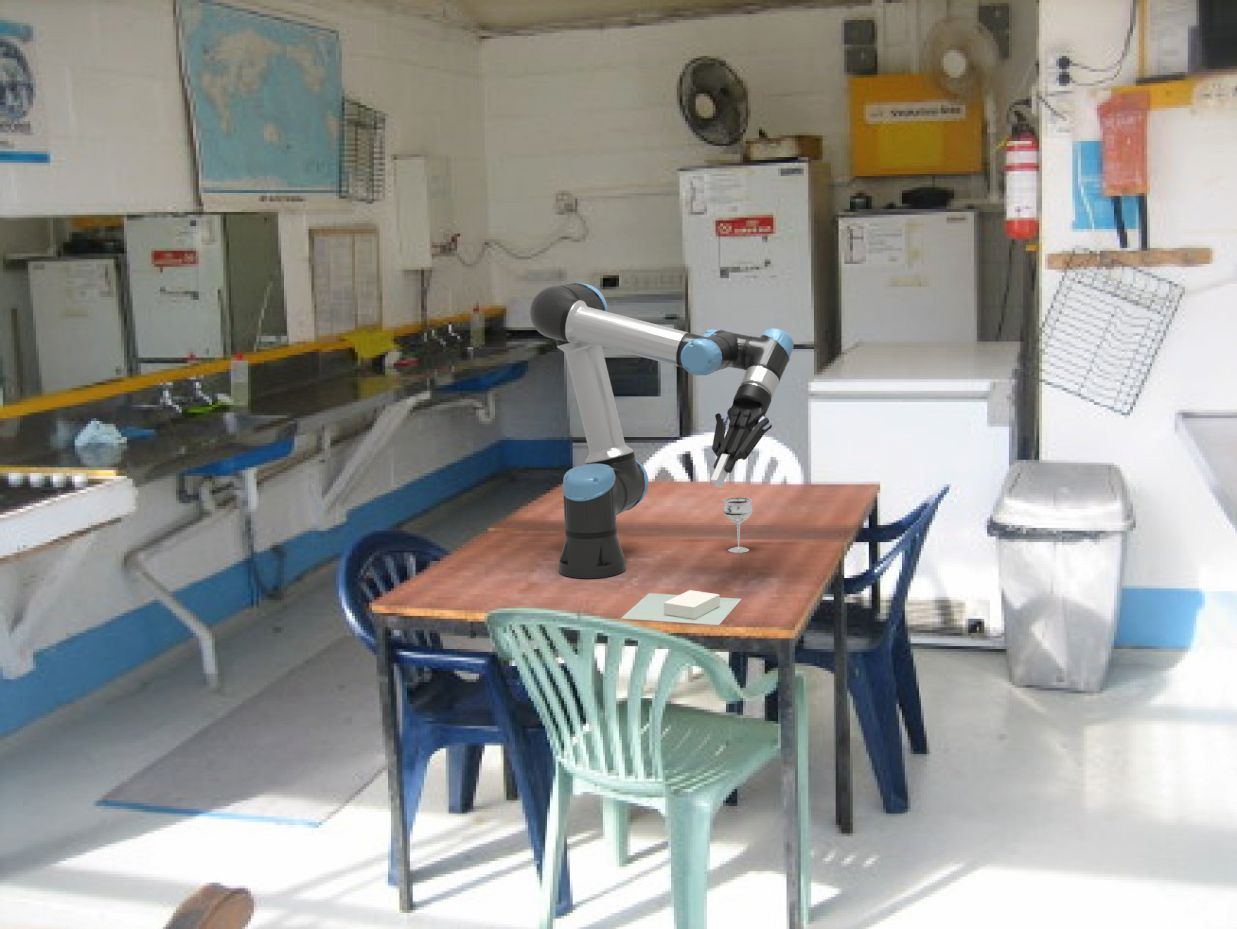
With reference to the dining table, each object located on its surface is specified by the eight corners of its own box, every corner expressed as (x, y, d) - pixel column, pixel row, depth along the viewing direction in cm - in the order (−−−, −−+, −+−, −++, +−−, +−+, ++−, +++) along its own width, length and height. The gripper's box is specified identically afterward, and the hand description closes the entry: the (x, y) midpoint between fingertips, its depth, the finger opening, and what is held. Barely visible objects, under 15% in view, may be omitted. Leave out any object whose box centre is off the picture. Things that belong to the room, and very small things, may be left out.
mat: (620, 621, 262) (620, 618, 262) (649, 595, 279) (648, 593, 279) (718, 628, 256) (718, 625, 256) (741, 601, 272) (741, 598, 272)
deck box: (719, 606, 268) (694, 619, 260) (690, 602, 272) (664, 614, 264) (719, 594, 267) (693, 607, 259) (689, 590, 271) (663, 602, 263)
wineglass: (752, 553, 310) (751, 503, 308) (723, 553, 311) (722, 503, 309) (754, 546, 317) (753, 497, 315) (725, 546, 318) (724, 497, 316)
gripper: (788, 405, 282) (750, 497, 272) (735, 401, 289) (695, 490, 279) (777, 383, 277) (737, 476, 266) (722, 380, 284) (682, 469, 274)
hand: (716, 483), depth 273 cm, fingers closed
